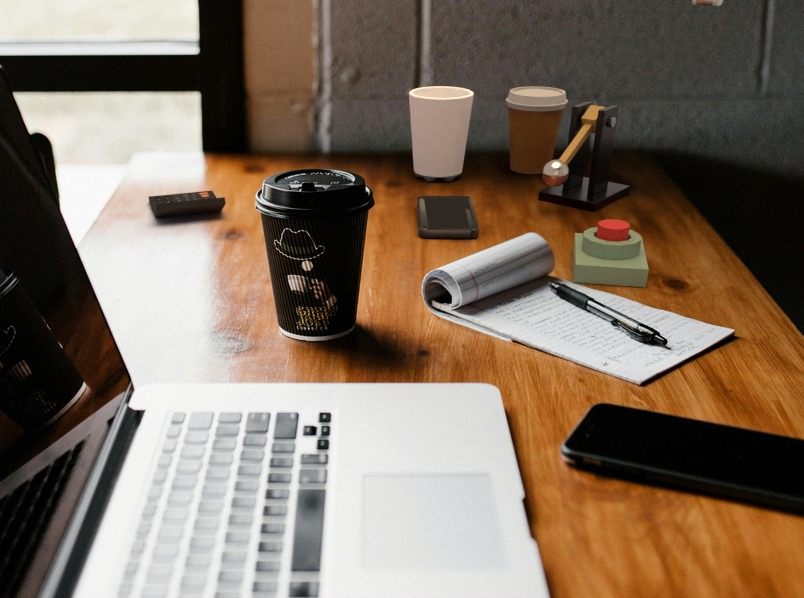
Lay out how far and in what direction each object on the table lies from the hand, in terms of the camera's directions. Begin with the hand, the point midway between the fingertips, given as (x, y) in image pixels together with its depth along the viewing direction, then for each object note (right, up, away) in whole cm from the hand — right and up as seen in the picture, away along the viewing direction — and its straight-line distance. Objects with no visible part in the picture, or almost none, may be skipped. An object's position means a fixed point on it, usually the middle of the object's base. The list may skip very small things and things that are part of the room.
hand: (706, 4), depth 99 cm
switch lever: (-9, -11, +22) cm, 26 cm away
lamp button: (-10, -26, +2) cm, 28 cm away
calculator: (-64, -18, +24) cm, 71 cm away
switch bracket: (-7, -15, +28) cm, 32 cm away
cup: (-27, -9, +38) cm, 48 cm away
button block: (-10, -29, +4) cm, 31 cm away
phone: (-28, -20, +19) cm, 39 cm away
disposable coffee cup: (-12, -7, +41) cm, 44 cm away
